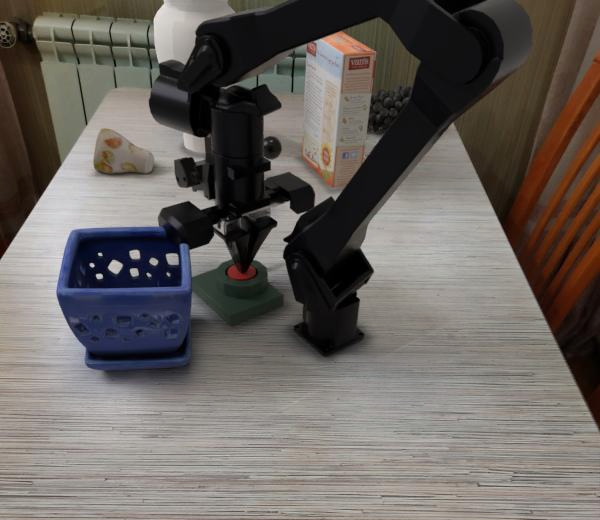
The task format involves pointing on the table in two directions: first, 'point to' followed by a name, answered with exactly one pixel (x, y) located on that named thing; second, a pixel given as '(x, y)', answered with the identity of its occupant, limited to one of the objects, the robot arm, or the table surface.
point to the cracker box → (337, 106)
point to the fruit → (387, 107)
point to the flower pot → (127, 298)
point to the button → (241, 274)
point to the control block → (237, 293)
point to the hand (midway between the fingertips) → (242, 271)
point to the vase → (184, 37)
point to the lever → (272, 147)
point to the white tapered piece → (120, 154)
